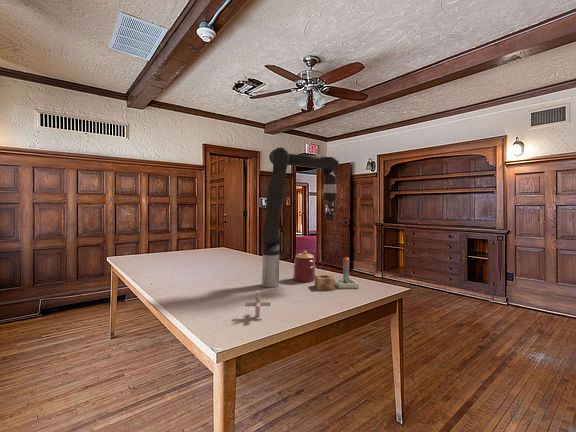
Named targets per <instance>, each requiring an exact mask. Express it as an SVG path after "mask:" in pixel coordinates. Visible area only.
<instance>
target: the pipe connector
mask: <svg viewBox="0 0 576 432" xmlns="http://www.w3.org/2000/svg"><path fill="white" fill-rule="evenodd" d="M271 303H272V302H271V301H261V291H260V290H256V291H255V301H245V302H244V306H245V307H254V308H255V309H254V310H255V312H254V313H255V318H261V307H271Z"/></svg>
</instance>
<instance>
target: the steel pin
mask: <svg viewBox="0 0 576 432" xmlns="http://www.w3.org/2000/svg"><path fill="white" fill-rule="evenodd" d="M342 264H343V266H342V267H343V268H342V270H343V271H342V279H343V284H349V279H350V257H343V263H342Z"/></svg>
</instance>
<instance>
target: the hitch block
mask: <svg viewBox="0 0 576 432" xmlns="http://www.w3.org/2000/svg"><path fill="white" fill-rule="evenodd" d="M335 279H336V278H335V277H334V276H332V275H331V274H315V280H314V287H315V288H316V289H317V290H318V291H335V290H336V285H335Z"/></svg>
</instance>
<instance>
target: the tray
mask: <svg viewBox="0 0 576 432" xmlns="http://www.w3.org/2000/svg"><path fill="white" fill-rule="evenodd" d="M335 287H337V288H338V289H341V290H342V289H343V290H344V289H345V290H347V289H359V287H360V285H359V282H357V281H356V280H354V279H353V278H349V284H343V278H335Z"/></svg>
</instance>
